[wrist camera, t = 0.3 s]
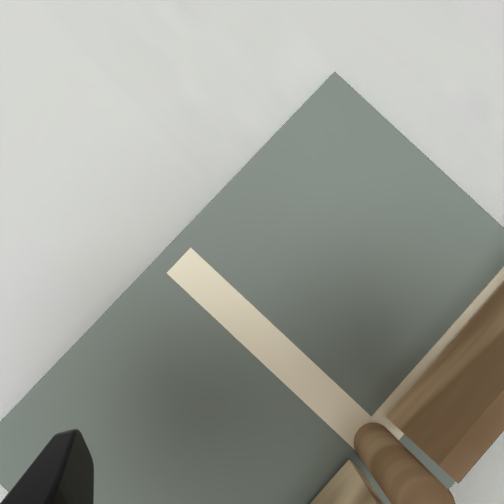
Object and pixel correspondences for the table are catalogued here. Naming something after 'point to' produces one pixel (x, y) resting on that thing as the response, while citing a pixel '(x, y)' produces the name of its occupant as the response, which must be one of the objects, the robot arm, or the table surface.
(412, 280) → the board
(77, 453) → the robot arm
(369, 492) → the hinged panel
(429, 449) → the fixed fence
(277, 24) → the table surface
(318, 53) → the table surface
